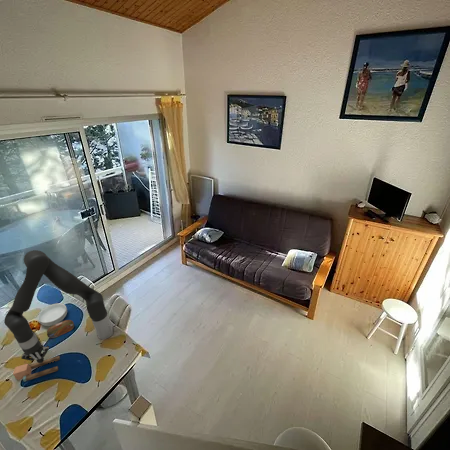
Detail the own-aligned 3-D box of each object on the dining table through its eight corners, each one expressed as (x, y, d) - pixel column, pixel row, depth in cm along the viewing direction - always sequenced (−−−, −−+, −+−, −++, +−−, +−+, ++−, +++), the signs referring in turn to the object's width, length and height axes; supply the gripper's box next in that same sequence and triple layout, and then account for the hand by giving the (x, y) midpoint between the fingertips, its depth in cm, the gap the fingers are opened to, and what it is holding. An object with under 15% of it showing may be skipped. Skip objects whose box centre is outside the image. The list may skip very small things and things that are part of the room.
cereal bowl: (74, 316, 172) (71, 309, 169) (48, 334, 160) (45, 326, 157) (61, 306, 180) (58, 299, 177) (36, 321, 168) (32, 314, 164)
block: (31, 369, 140) (28, 363, 137) (30, 376, 137) (26, 369, 134) (19, 373, 138) (15, 367, 135) (17, 380, 135) (12, 374, 132)
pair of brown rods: (60, 357, 147) (58, 355, 145) (57, 370, 140) (56, 368, 139) (28, 367, 141) (26, 365, 140) (24, 381, 134) (22, 379, 133)
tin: (49, 340, 156) (45, 331, 152) (49, 336, 158) (44, 328, 154) (75, 328, 164) (72, 320, 160) (75, 325, 166) (71, 317, 162)
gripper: (45, 332, 134) (56, 351, 142) (16, 341, 129) (29, 360, 138) (42, 343, 128) (54, 362, 136) (11, 353, 123) (25, 372, 132)
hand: (41, 361), depth 137 cm, fingers closed
